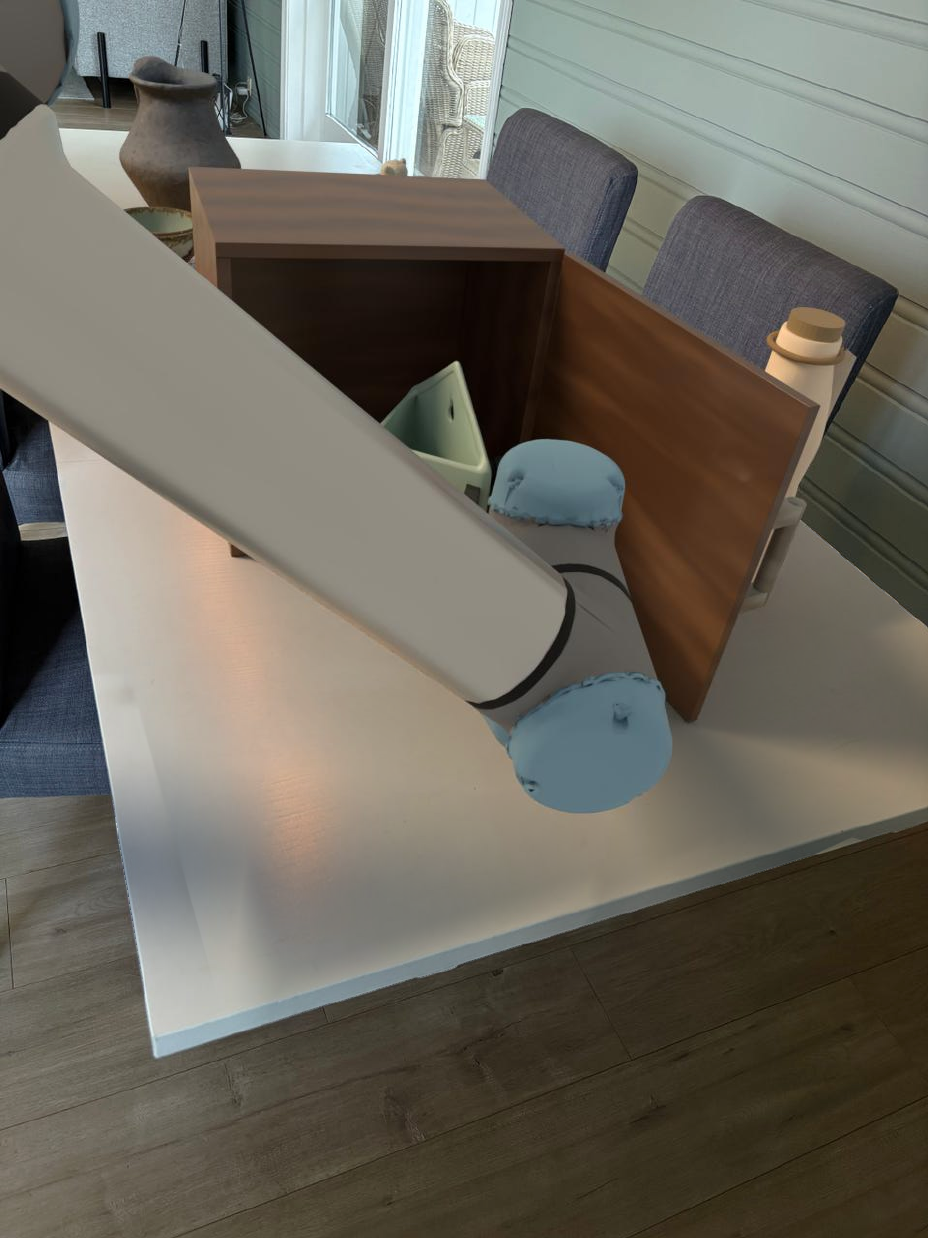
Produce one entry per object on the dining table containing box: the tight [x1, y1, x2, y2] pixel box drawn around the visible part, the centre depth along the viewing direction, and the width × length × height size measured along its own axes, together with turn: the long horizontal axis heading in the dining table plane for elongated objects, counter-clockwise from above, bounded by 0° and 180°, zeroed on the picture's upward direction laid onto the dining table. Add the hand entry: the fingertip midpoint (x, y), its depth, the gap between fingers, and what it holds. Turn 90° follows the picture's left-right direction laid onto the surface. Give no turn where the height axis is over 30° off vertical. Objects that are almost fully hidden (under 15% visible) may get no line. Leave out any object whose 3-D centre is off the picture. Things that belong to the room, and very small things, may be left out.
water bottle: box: [751, 306, 858, 583], centre depth 91 cm, size 10×9×28 cm
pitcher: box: [118, 55, 242, 213], centre depth 161 cm, size 21×22×25 cm
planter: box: [381, 361, 492, 513], centre depth 82 cm, size 16×8×20 cm, turn 25°
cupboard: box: [189, 167, 566, 557], centre depth 94 cm, size 22×30×30 cm
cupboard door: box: [530, 252, 820, 723], centre depth 82 cm, size 7×30×30 cm, turn 28°
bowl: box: [122, 206, 195, 264], centre depth 146 cm, size 14×13×8 cm
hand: (398, 432), depth 84 cm, fingers closed on planter, 8 cm apart
